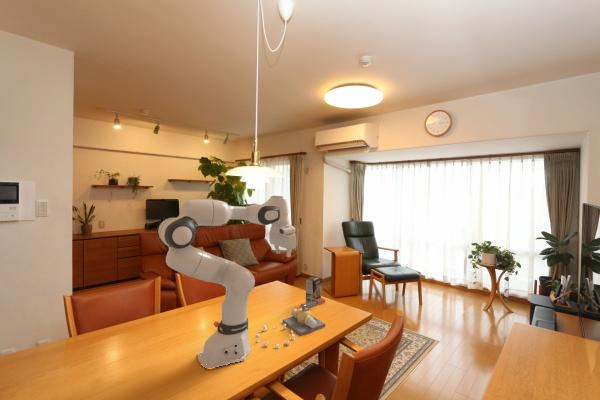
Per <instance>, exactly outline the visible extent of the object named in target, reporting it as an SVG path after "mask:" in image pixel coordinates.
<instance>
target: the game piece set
mask: <svg viewBox="0 0 600 400" xmlns="http://www.w3.org/2000/svg"><path fill="white" fill-rule="evenodd" d="M277 327H278V325H276V326H273V329H277ZM262 329H263V331H264V332H267V331H266V330H267V329H268V328H267V326H266V324H263V325H262ZM283 329H284V330H286V329H287V325H286V324H284V323H283ZM260 333H261V331H259V332H258V333H256V334H255V336H256V337H257V340H255V341H256V343H257V344H258V343H259V344H260V343H261V342H262V345H263V346H264V347H268V346H269V344H268V343H269V340H267V341H266V342H265V341H262V340H260V339H261V338H260V336H261V335H260ZM290 334H291V340H293V341H294V340H295V339H296V338H295V336H296V335H295V334H294V330H291V331H290ZM290 343H291V342H290V339H289V340H286V341H284V345H287V346H289V344H290ZM274 347H275V349H280V346H279V343H276V344H275V346H274Z"/></svg>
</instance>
